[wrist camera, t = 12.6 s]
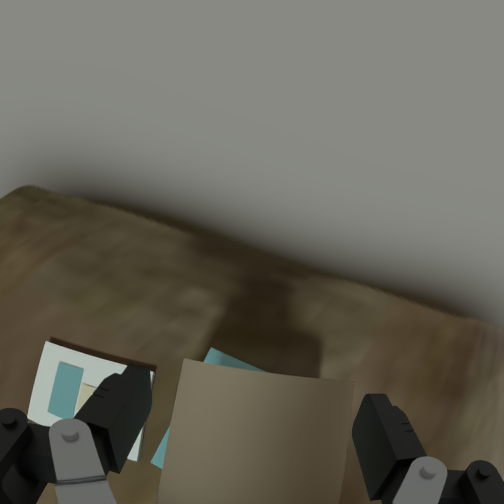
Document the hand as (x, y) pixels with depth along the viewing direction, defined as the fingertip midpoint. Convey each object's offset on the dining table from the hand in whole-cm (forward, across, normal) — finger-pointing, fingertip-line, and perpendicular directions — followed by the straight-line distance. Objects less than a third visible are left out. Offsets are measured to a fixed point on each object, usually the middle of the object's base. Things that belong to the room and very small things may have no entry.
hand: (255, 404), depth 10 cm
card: (+7, +12, +9) cm, 16 cm away
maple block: (+4, 0, +6) cm, 7 cm away
